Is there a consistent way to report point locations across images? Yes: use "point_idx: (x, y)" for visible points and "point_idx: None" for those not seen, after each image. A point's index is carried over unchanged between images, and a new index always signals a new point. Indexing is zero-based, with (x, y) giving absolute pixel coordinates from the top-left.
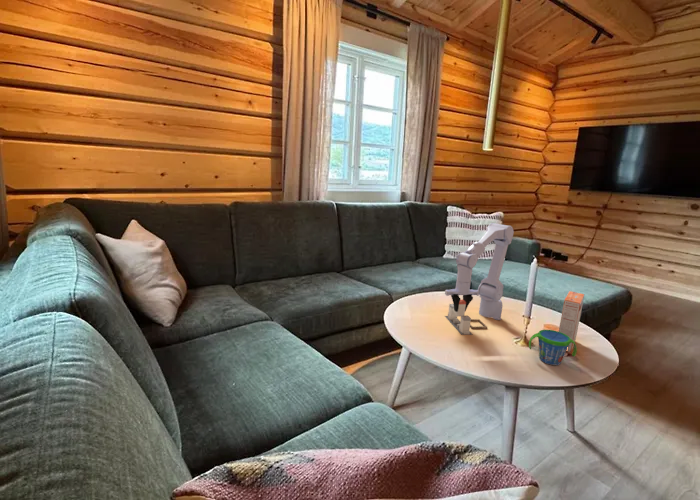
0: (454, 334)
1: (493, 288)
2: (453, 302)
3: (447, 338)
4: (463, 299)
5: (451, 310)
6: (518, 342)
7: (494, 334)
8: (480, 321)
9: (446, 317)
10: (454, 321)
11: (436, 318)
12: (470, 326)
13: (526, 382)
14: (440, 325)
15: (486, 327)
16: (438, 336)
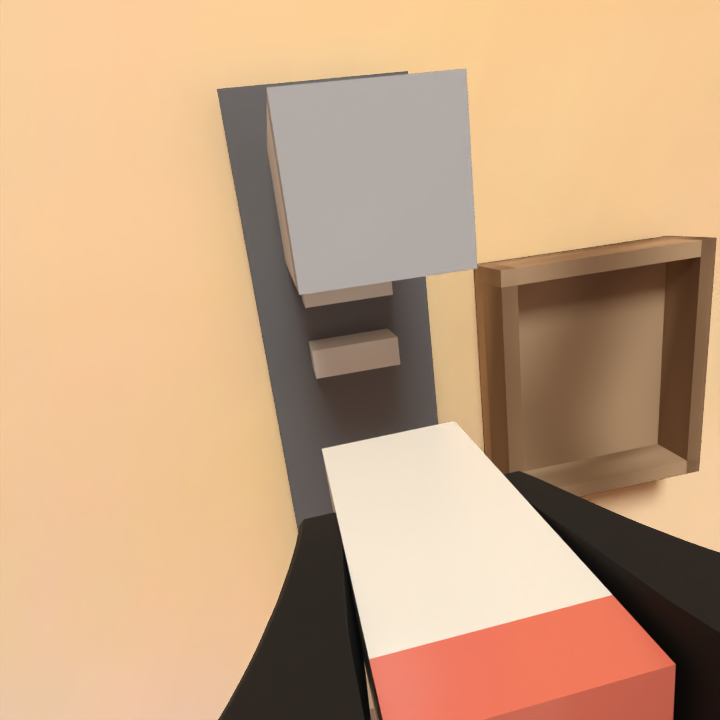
0: (265, 595)
1: None
2: (261, 670)
3: (162, 700)
4: (695, 664)
5: (293, 280)
6: None
7: (697, 500)
8: (698, 314)
9: (241, 161)
10: (325, 372)
11: (81, 115)
12: (504, 468)
13: None
14: (121, 382)
15: (683, 469)
16: (59, 684)
